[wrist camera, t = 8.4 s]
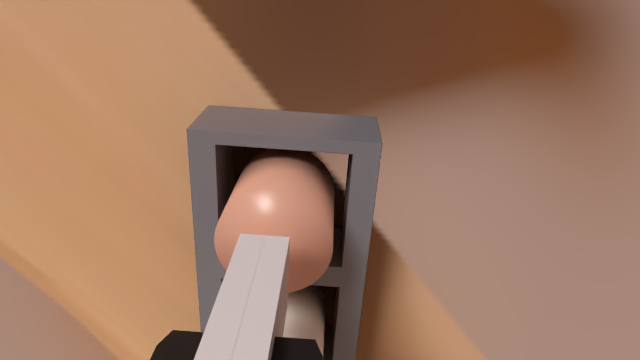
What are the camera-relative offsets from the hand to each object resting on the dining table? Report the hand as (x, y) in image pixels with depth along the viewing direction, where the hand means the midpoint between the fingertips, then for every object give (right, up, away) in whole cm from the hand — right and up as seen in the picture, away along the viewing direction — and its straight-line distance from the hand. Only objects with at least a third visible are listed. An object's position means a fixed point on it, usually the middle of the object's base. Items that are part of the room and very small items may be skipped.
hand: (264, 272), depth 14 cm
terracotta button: (0, +2, +5) cm, 5 cm away
